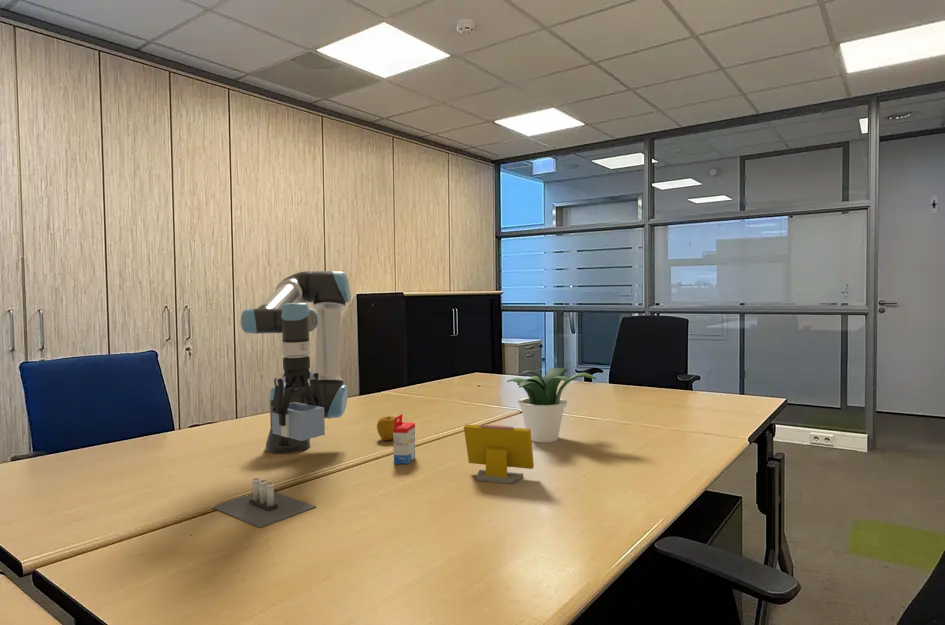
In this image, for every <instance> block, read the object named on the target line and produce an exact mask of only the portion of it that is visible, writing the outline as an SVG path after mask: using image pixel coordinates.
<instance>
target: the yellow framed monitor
mask: <svg viewBox="0 0 945 625" xmlns="http://www.w3.org/2000/svg"><path fill="white" fill-rule="evenodd" d="M463 431H464V437H465V445H466V446H465V447H466V451H467V452H466V454H467V459H468V463H469V464H476V465H485V469H481V468H480V469H479V470H478V473H477V475H476V481H479V482H486V483H487V482H489V483H497V484H498V483H499V484H509V485H513V484H514V483H515V482H517V481H519V480H520V479H521V478H523V477H524V473H522V472H521V473H520V472H512V471H508V468H517V469H531V470H533V469H534V467H535V463H534V454H533V453H534V451H533V441H531V430H530V429H526V427H525V428H523V427H520V428H519V427H514V426H505V425H504V426H503V425H494V424H493V425H492V424H490V425H489V424H481V425H477V424H467V423H466V424H465V425H464V427H463Z"/></svg>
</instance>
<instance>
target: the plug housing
mask: <svg viewBox="0 0 945 625" xmlns="http://www.w3.org/2000/svg"><path fill="white" fill-rule="evenodd" d="M272 408H273V406H272ZM286 414H289V437H288V438H292V439H296V440H300V441H304V440H307V439H310V440H311V439H313V438H314V439H315V438H318V437H321V436H325V435H326V434H325V432H326V431H325V430H326V428H325V424H326V423H325V422H326V421H325V418H324V407H318V406H313V405H308V404H303V403H298V402H292V403H290V404H289V407H288V410H287V413H286ZM272 433H273V434H277V435H280V436H282V432H281V426H280V425H279V414H277V413H273V412H272Z"/></svg>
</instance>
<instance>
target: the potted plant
mask: <svg viewBox="0 0 945 625" xmlns="http://www.w3.org/2000/svg"><path fill="white" fill-rule="evenodd" d="M568 371H569V370H568V369H567V368H563V367H553V368H550V369H549V370H548V371H547V372H546V373H545V374H544V376H541V375H540V374H539V373H537V372H536V371H534V370H531V369H530V370H529V369H528V370H526V371H523V372H522V373H521V375H523V374H524V375H525V374H533V376H531V378H520V377H515V378H511V379H508V380H506V383H509V382H514V383H517V386H518V388H523V390H524V391H525V393H526V394H527V396H528V397H523V398H520V399H518V401H517V402H518V405H519V407H520V408H521V414H522V417H523V422H524V426H525V429H530V430H531V441H532V442H537V443H551V442H552V443H553V442H557V441H558V439H559V434H560V429H561V425H562V420H563V414H564V410H565V408H566V407H567V404H568V401H567V399H564V398H561V396H562V392H563V390H564V389H565V388H566V387H567V385H568V384H569V383H570V382H572V381H573V380H576V379H578V378H589V379H593V380H597V377H595V375H592V374H590V373H588V372H579V373H575V374H574V375H571V376H570V377H569V376H567V375H565V373H567V372H568ZM561 381H563V383H562V384H561ZM560 384H561V386H560V387H559V385H560ZM558 388H559V389H558Z"/></svg>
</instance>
